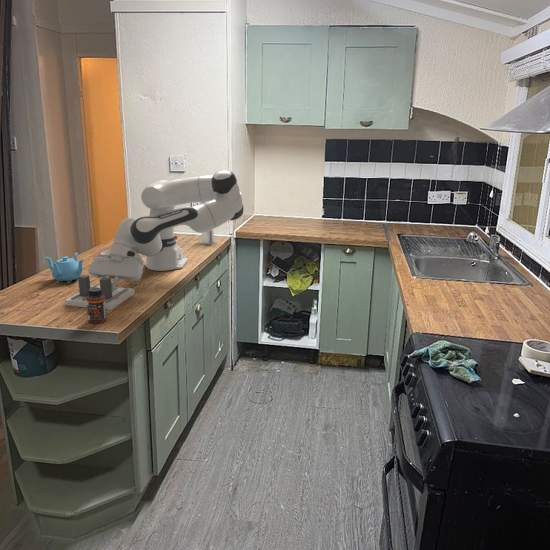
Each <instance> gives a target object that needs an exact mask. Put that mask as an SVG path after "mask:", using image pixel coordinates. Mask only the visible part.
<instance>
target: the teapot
mask: <svg viewBox="0 0 550 550" xmlns="http://www.w3.org/2000/svg"><path fill="white" fill-rule="evenodd" d="M78 254H79V252H75V253H74V255H73V258H72V257H70V258H69V256H62V257H61V258H59V259H57V260H56V261H55V262H53V260H52V258H51V257H49V256H44V258H45V259H46V260H47V261H48V267H49V269H50V271H51V276H52V278H54V279H55V280H56V283H61V282H62V281H63V282H64V281H66V284H72V283H73V281H74V280H75V281H76V280H77V281H78V277H79V276H81V275H82V273H83V270H84V267H83V261H84V260H85V259H84V258H83V259H80V260H79V261H78ZM72 280H73V281H72Z"/></svg>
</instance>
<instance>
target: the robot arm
mask: <svg viewBox="0 0 550 550" xmlns="http://www.w3.org/2000/svg"><path fill="white" fill-rule="evenodd" d="M140 197H141V199H140V200H141V201H142V204H143V206H145V207H146V208H148V209H150V210H149V215H147V216H145V215H144V216H141V217H138V218H136V217H127V218H126V217H125V218H124V219H123V220H122V221H121V222H120V223H119V225H118V228H117V229H116V232H115V234H114V241H113V242H112V244H111V246H110V249H109V250H110V251H109V250H108V251H109V254H108V255H102V254H98V255H96V256H94V258H93V261H92V262H91V264H90V265H89V268H88V274H89V276H91V277H92V278H100V279H101V278H103V277H104V278H111V280H113V281H111V288H112V289H114V288H115V287H116V286H117V285H118V284H119V283H120V282H121V281H122V280H123V281H133V282H138V281H140V280H141V279H142V275H143V272H144V270H143V269H144V267H146V268H147V269H148V270H151V271H158V272H159V271H161V272H164V271H165V272H166V271H173V270H179V269H181V270H182V269H183V267H184V266H185V265H186V263H188V261H189V259H188V258H187V257H185V256H184V255H183V253H184V252H183V249H182V248H181V247H180V246H179V245H178V244H177V240H178V235H177V234H176V235H175V233H174V230H175V229H174V228H175V227H179V226H187V227H189V229H191V230H193V231H194V232H195V233H198V234H202V233H203V232H207V231H210V230H212V229H213V230H215V229H216V228H218V227H220V226H223V225H224V224H226V223H227V222H229V221H236V220H238V219H240V218H241V217H243V214H244V204H243V198H242V192H241V190H240V188H239V184H238V180H237V178H236V175H235V173H234V172H232V170H229V169H228V170H226V169H223V170H219V171H217V172H215V173H214V174H213V175H199V176H192V177H184V178H178V179H172V180H166V179H160V180H157V181H155V182H152V183H150V184H148V185H146V186H145V187H144V188H143V190H142V192H141V194H140ZM210 200H211V201H210ZM204 201H208V202H205V203H203V204H200V202H204ZM197 203H199V204H197ZM187 204H197V205H194V206H183V207H178V208H176V209H175V207H176V206H182V205H187ZM141 255H142V256H145V260H144V259H143V257H142V256H141ZM143 266H144V267H143Z"/></svg>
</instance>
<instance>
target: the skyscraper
mask: <svg viewBox="0 0 550 550" xmlns="http://www.w3.org/2000/svg"><path fill="white" fill-rule="evenodd" d="M210 201H211V200H210ZM205 202H208V201H204V202H199V205H200V204H203V203H205ZM214 232H215V231H214V229H212V230H210V231H207V232H203V233H201V242H200V245H203V246H204V245H205V246H213V245H216V243H217V244H218V241H215V234H214Z"/></svg>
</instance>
